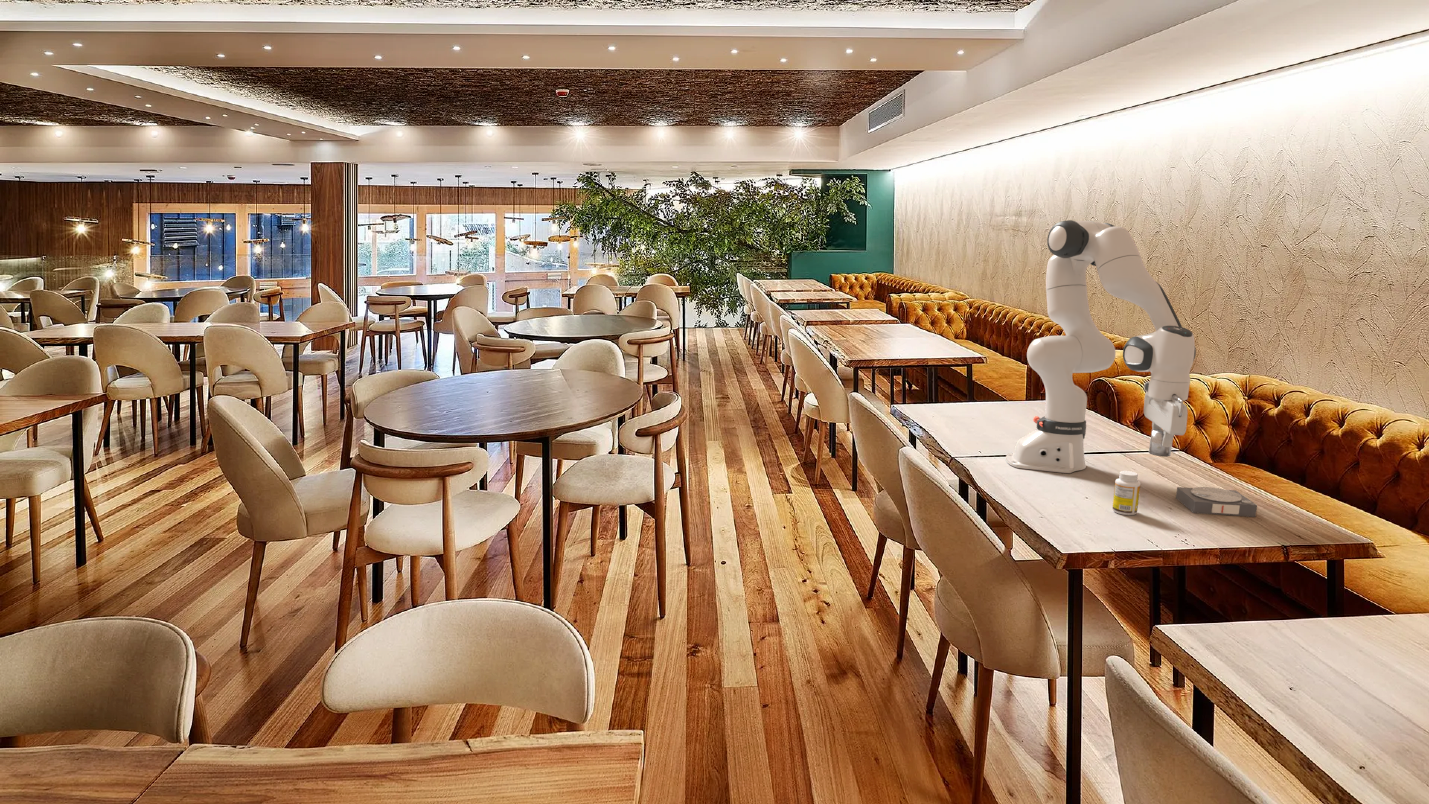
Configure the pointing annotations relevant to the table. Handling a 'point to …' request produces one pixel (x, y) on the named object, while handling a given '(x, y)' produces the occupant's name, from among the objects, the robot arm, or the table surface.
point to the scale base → (1216, 504)
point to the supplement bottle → (1126, 493)
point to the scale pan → (1216, 494)
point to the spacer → (1159, 444)
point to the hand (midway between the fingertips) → (1160, 443)
